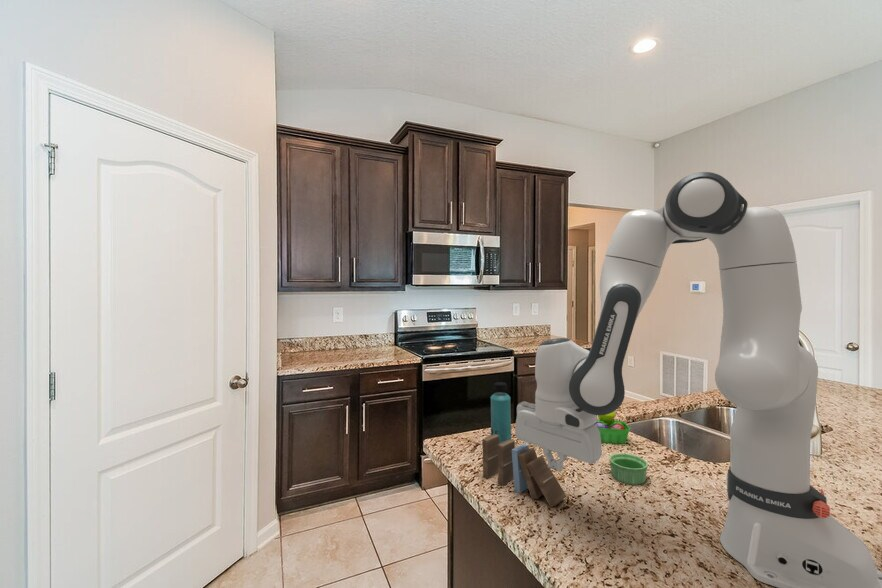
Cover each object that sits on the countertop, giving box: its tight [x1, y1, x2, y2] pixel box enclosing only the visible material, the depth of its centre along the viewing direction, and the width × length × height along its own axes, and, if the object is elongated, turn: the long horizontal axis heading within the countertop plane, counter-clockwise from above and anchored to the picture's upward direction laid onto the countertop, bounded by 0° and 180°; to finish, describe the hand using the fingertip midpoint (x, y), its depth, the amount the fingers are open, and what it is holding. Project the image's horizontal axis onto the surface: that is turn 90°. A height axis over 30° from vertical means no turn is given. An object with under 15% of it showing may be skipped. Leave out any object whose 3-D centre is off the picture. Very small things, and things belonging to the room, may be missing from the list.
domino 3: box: [512, 443, 530, 494], centre depth 95 cm, size 2×5×10 cm, turn 133°
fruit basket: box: [594, 411, 631, 445], centre depth 124 cm, size 11×9×11 cm
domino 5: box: [526, 455, 568, 508], centre depth 90 cm, size 2×5×10 cm
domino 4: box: [518, 447, 544, 500], centre depth 92 cm, size 2×5×10 cm, turn 133°
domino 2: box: [497, 438, 516, 487], centre depth 98 cm, size 2×5×10 cm, turn 133°
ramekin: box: [608, 452, 649, 485], centre depth 99 cm, size 9×9×4 cm
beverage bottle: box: [490, 381, 512, 444], centre depth 119 cm, size 6×7×20 cm
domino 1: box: [482, 434, 499, 480], centre depth 101 cm, size 2×5×10 cm, turn 134°
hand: (555, 468), depth 88 cm, fingers closed
